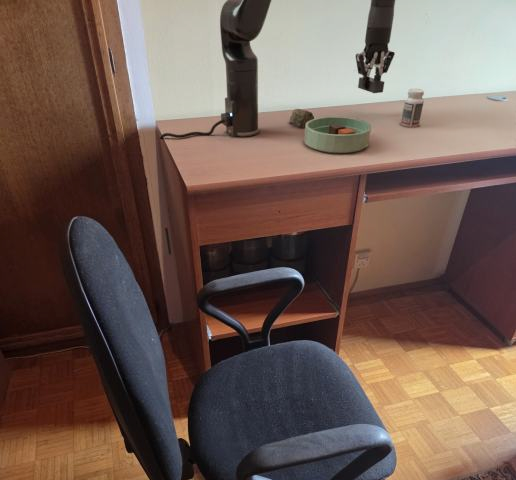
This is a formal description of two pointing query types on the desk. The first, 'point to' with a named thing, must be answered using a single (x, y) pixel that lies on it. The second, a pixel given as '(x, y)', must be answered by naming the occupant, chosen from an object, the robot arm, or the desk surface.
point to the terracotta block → (346, 131)
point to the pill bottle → (413, 108)
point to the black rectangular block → (372, 85)
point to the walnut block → (335, 128)
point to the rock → (300, 117)
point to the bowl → (337, 143)
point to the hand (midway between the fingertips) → (370, 88)
